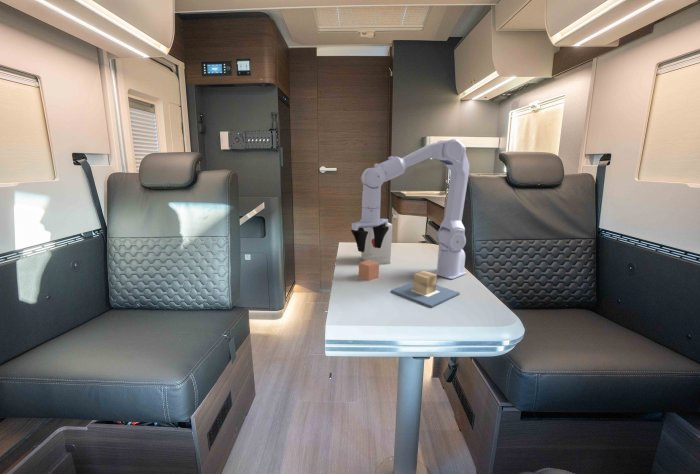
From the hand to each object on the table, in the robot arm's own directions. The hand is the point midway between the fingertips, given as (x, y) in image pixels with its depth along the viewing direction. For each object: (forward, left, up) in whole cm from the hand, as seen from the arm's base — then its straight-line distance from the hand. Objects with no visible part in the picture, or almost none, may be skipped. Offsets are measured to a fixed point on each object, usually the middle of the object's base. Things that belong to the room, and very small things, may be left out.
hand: (369, 249), depth 108 cm
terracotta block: (0, 0, -10) cm, 10 cm away
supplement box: (-15, -11, -10) cm, 21 cm away
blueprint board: (-3, +20, -9) cm, 22 cm away
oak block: (-3, +20, -9) cm, 22 cm away
